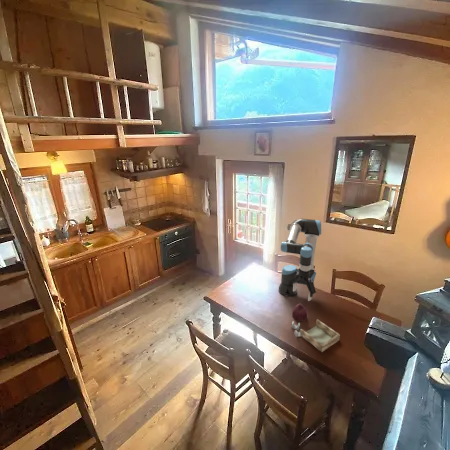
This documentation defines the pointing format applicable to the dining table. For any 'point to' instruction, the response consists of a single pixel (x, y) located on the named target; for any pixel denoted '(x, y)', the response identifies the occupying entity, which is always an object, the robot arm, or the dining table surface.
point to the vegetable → (299, 313)
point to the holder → (321, 336)
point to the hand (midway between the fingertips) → (301, 295)
